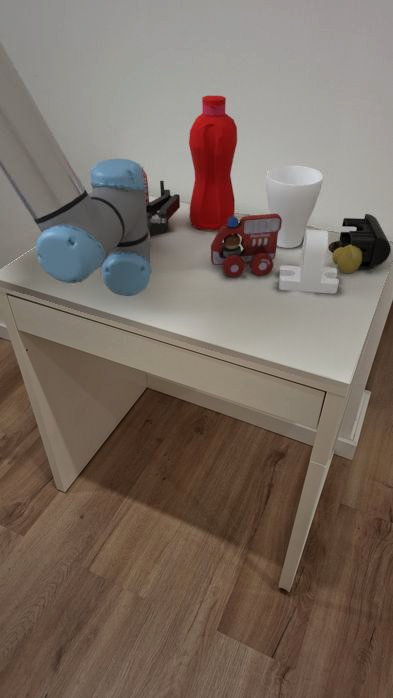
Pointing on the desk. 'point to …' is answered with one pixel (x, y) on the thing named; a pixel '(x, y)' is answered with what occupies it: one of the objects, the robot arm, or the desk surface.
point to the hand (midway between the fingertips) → (131, 188)
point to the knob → (347, 258)
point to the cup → (292, 200)
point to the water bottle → (212, 165)
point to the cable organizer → (310, 267)
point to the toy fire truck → (247, 244)
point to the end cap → (366, 240)
